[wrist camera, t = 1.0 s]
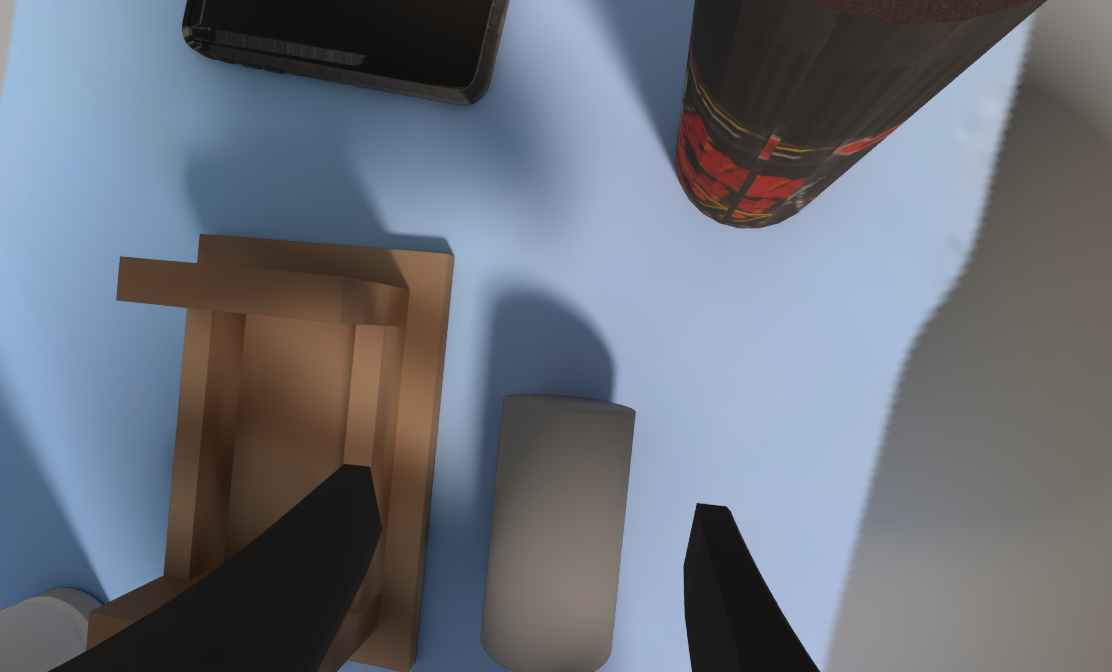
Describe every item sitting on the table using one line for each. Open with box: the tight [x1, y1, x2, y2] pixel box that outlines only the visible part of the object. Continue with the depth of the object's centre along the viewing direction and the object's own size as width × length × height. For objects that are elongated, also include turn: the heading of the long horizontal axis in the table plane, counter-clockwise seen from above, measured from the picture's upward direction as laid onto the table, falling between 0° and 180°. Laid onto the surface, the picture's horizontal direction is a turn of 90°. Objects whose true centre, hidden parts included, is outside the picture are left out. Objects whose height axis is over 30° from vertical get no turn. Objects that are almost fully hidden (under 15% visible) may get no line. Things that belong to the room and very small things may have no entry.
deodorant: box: [676, 0, 1047, 228], centre depth 15 cm, size 6×6×15 cm
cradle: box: [86, 234, 454, 672], centre depth 23 cm, size 18×12×6 cm, turn 174°
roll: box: [481, 394, 636, 672], centre depth 21 cm, size 9×5×5 cm, turn 174°
